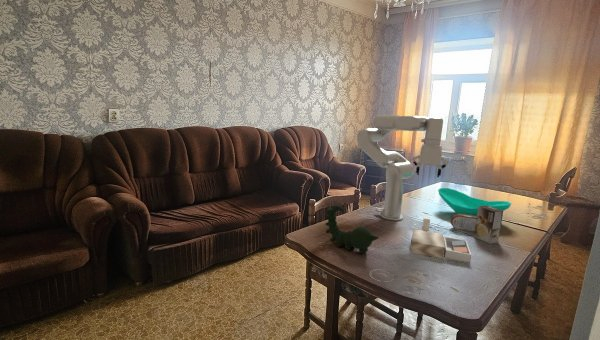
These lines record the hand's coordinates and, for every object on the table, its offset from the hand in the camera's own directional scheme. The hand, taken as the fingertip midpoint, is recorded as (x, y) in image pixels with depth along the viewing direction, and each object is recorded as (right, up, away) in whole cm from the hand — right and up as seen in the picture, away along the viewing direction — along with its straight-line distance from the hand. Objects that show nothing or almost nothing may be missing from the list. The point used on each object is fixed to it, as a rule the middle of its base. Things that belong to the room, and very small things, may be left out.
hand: (427, 175), depth 160 cm
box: (+2, -34, -23) cm, 41 cm away
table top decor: (+36, -26, +27) cm, 52 cm away
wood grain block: (-8, -32, -19) cm, 39 cm away
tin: (+22, -29, +5) cm, 37 cm away
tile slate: (+5, -30, -21) cm, 37 cm away
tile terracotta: (+2, -31, -28) cm, 41 cm away
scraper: (-3, -30, -2) cm, 30 cm away
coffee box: (+26, -32, -6) cm, 41 cm away
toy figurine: (-44, -32, -23) cm, 59 cm away
